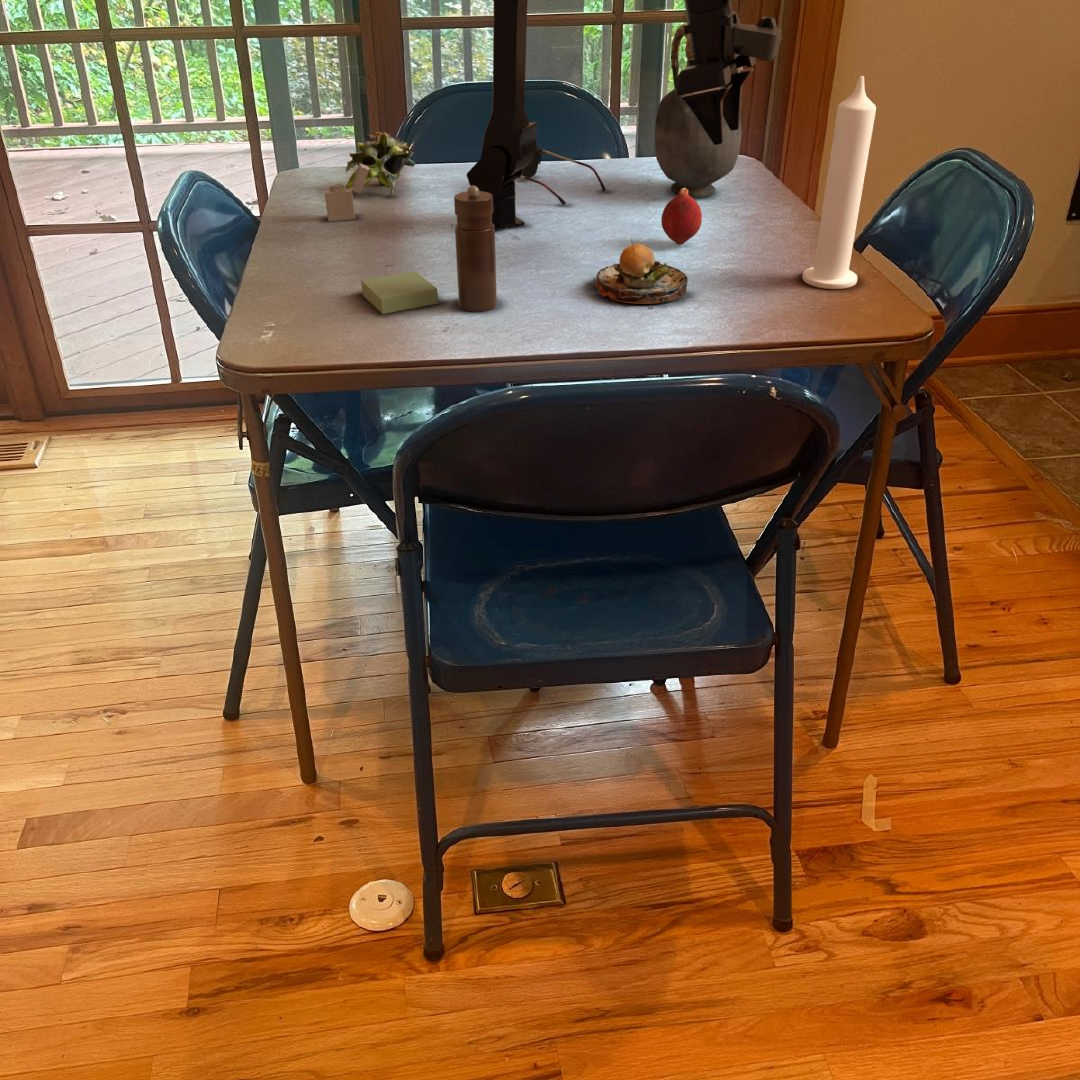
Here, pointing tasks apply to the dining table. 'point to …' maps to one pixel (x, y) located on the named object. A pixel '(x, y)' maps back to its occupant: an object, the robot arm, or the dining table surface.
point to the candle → (843, 192)
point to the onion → (681, 218)
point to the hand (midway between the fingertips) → (726, 136)
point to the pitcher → (690, 139)
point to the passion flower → (381, 159)
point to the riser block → (399, 292)
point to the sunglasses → (533, 165)
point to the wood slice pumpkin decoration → (641, 278)
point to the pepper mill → (475, 250)
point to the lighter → (344, 197)
